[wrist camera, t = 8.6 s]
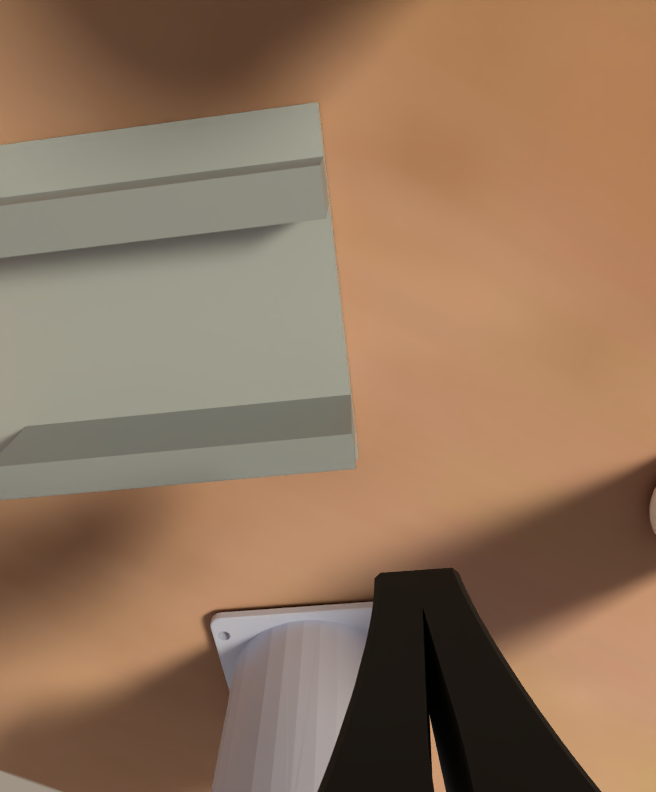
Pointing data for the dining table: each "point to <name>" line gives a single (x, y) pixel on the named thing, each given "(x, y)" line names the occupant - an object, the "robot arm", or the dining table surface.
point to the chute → (171, 307)
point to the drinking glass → (653, 511)
